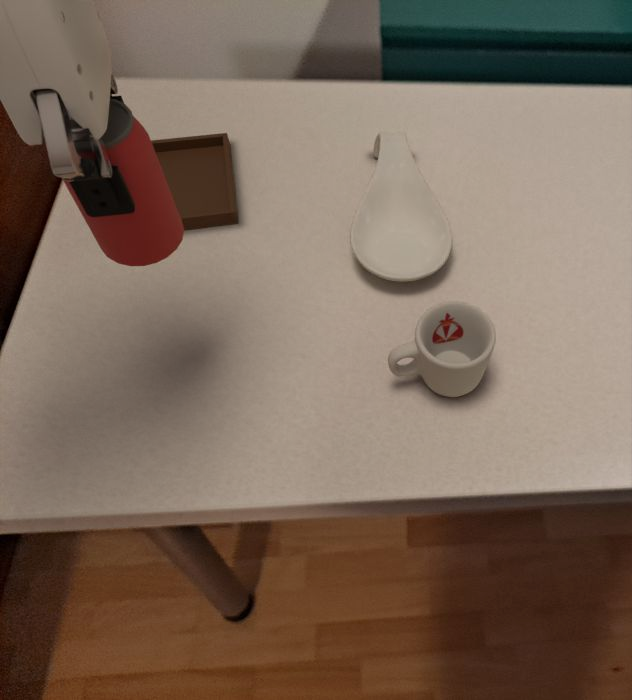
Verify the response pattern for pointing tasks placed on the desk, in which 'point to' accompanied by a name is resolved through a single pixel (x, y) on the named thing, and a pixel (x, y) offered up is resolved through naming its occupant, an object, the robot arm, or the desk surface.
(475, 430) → the desk surface
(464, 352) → the cup
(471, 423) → the desk surface
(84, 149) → the beer can
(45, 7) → the robot arm
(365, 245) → the spoon rest
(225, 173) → the tray
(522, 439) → the desk surface
